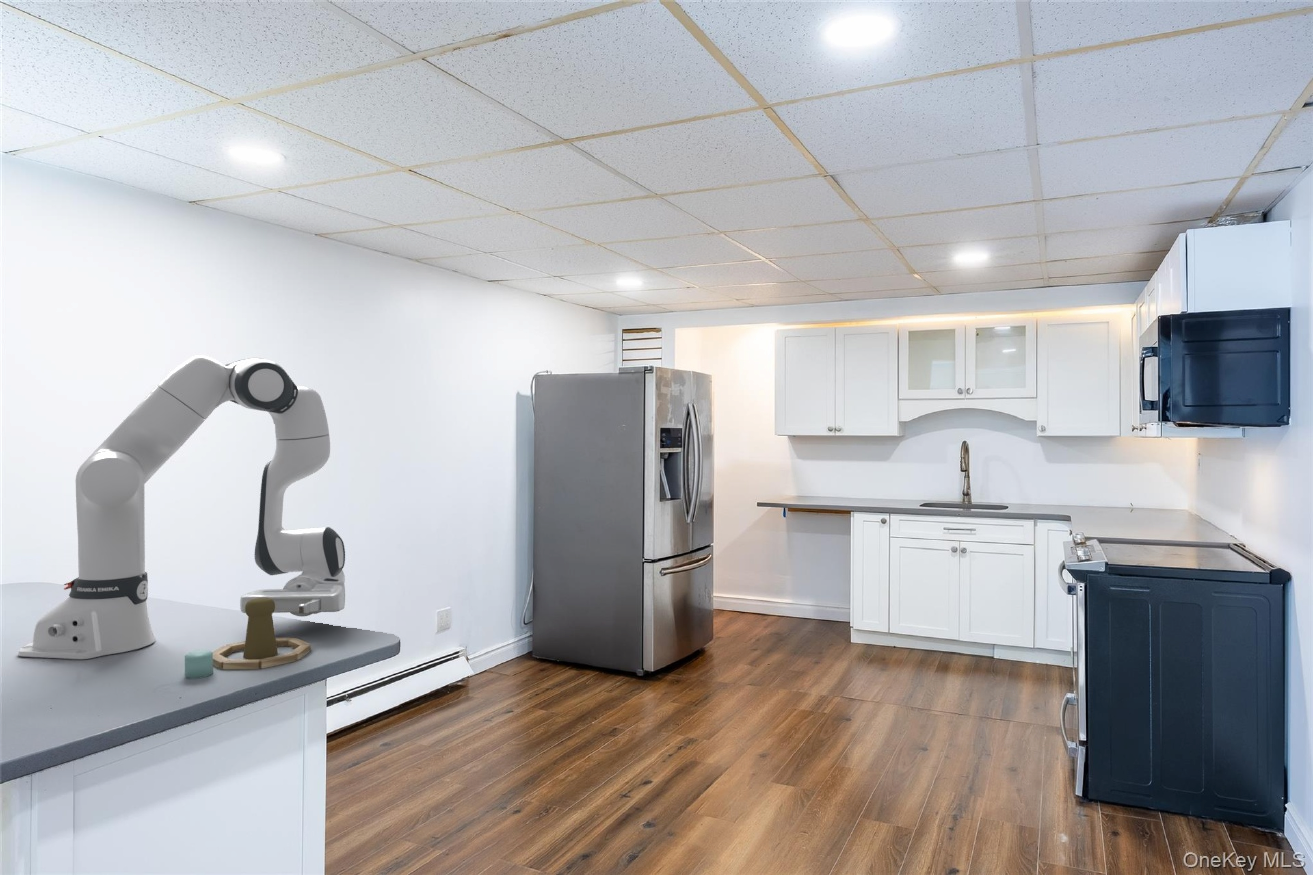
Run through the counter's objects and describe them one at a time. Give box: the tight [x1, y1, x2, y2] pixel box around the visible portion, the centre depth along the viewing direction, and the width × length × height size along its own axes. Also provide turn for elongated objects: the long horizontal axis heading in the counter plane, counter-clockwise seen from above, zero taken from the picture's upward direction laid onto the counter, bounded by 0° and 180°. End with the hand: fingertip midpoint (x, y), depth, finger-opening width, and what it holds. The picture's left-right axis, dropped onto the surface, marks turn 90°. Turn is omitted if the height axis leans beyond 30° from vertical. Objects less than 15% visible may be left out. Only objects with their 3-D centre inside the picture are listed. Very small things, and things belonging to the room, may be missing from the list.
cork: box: [242, 597, 279, 660], centre depth 157 cm, size 6×6×11 cm
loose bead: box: [184, 649, 214, 679], centre depth 145 cm, size 4×4×4 cm
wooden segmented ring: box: [212, 637, 311, 670], centre depth 156 cm, size 17×17×1 cm
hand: (278, 609), depth 165 cm, fingers open, 8 cm apart
